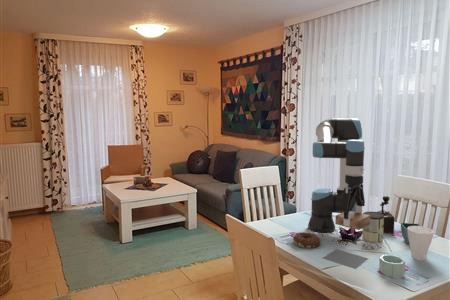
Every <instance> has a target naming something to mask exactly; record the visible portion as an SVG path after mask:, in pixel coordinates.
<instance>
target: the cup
mask: <svg viewBox="0 0 450 300" xmlns="http://www.w3.org/2000/svg"><path fill="white" fill-rule="evenodd" d="M407 231H408V239H409V243H410V244H409V247H410V255H411V258H412V259H415V260H417V261H426V260H427V257H428V251H429V249H430V246H431V244H432V240H433V237H434V230H433V229H432V228H430V227H427V226H426V227H425V226H422V225H420V226H409V227H408V228H407Z"/></svg>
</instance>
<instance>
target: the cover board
mask: <svg viewBox="0 0 450 300" xmlns="http://www.w3.org/2000/svg"><path fill="white" fill-rule="evenodd" d="M349 212H350V227H348V226H344V225H343V222H344V212H343V213H337V215H335V221H334V224H335V225H337V226H340V227H345V228H350V229H353V230H358V231H360V230H361V229H362V230H363V228H364V227H366V226H367V225H369V224H370V215H366V214H363V213H362V214H361V213H356V212H352V211H349Z"/></svg>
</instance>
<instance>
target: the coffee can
mask: <svg viewBox="0 0 450 300" xmlns="http://www.w3.org/2000/svg"><path fill="white" fill-rule="evenodd" d="M362 214H366V215H370V224H369V225H367V226H366V227H364V228H362V232H361V233H362V237H361V240H362V241H364V242H366V243H368V244H376V245H377V244H378V245H379V244H382V243H383V242H384V233H383V224H384V215H383V214H381V213H378V211H364V212H362Z"/></svg>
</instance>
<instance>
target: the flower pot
mask: <svg viewBox="0 0 450 300" xmlns="http://www.w3.org/2000/svg"><path fill="white" fill-rule="evenodd" d="M409 226H421V225H420V224H419V223H410V222H400V232H401V233H400V234H401V236H402V238H403V240H404V241H405V243H406V244H408V245H410V243H409V239H408V231H407V228H408V227H409Z"/></svg>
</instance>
